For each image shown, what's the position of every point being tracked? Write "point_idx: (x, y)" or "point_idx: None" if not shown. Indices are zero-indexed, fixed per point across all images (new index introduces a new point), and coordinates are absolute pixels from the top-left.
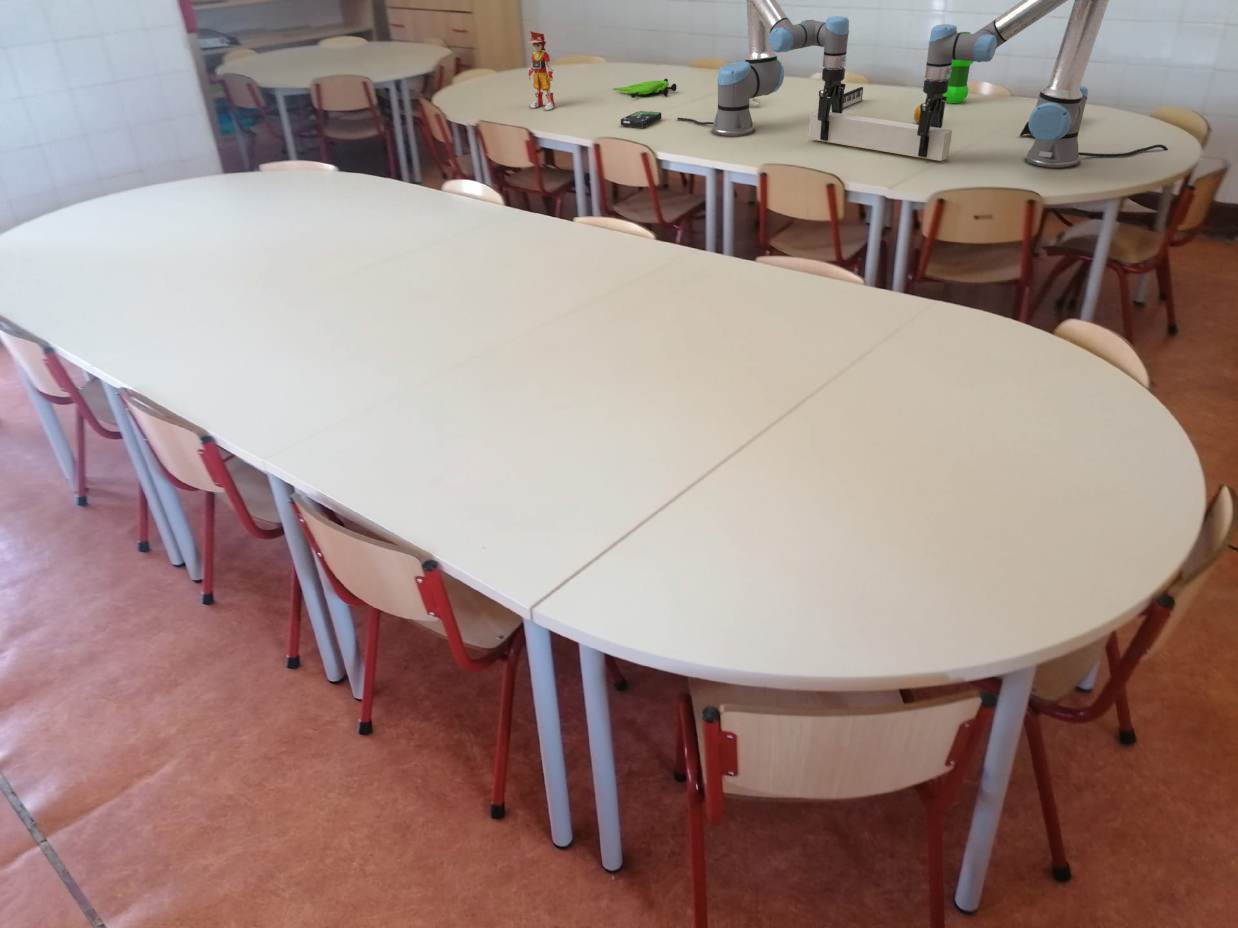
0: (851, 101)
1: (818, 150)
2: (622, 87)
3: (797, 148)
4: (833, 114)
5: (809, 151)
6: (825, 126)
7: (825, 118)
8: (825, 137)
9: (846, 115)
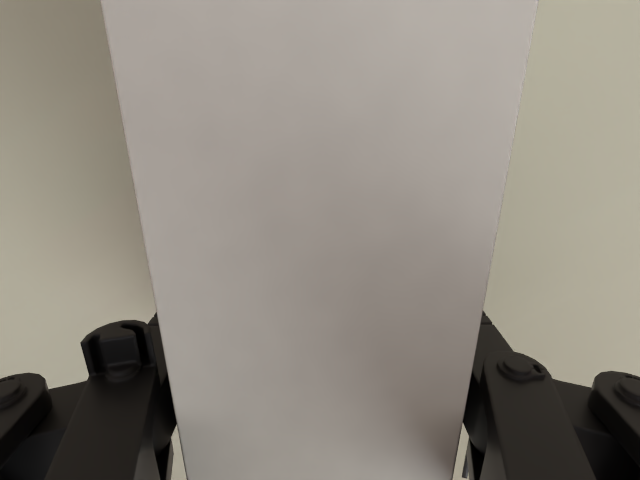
0: None
1: (555, 202)
2: None
3: (557, 354)
4: (305, 412)
5: (608, 247)
6: None
7: (607, 400)
8: None
9: (219, 140)
